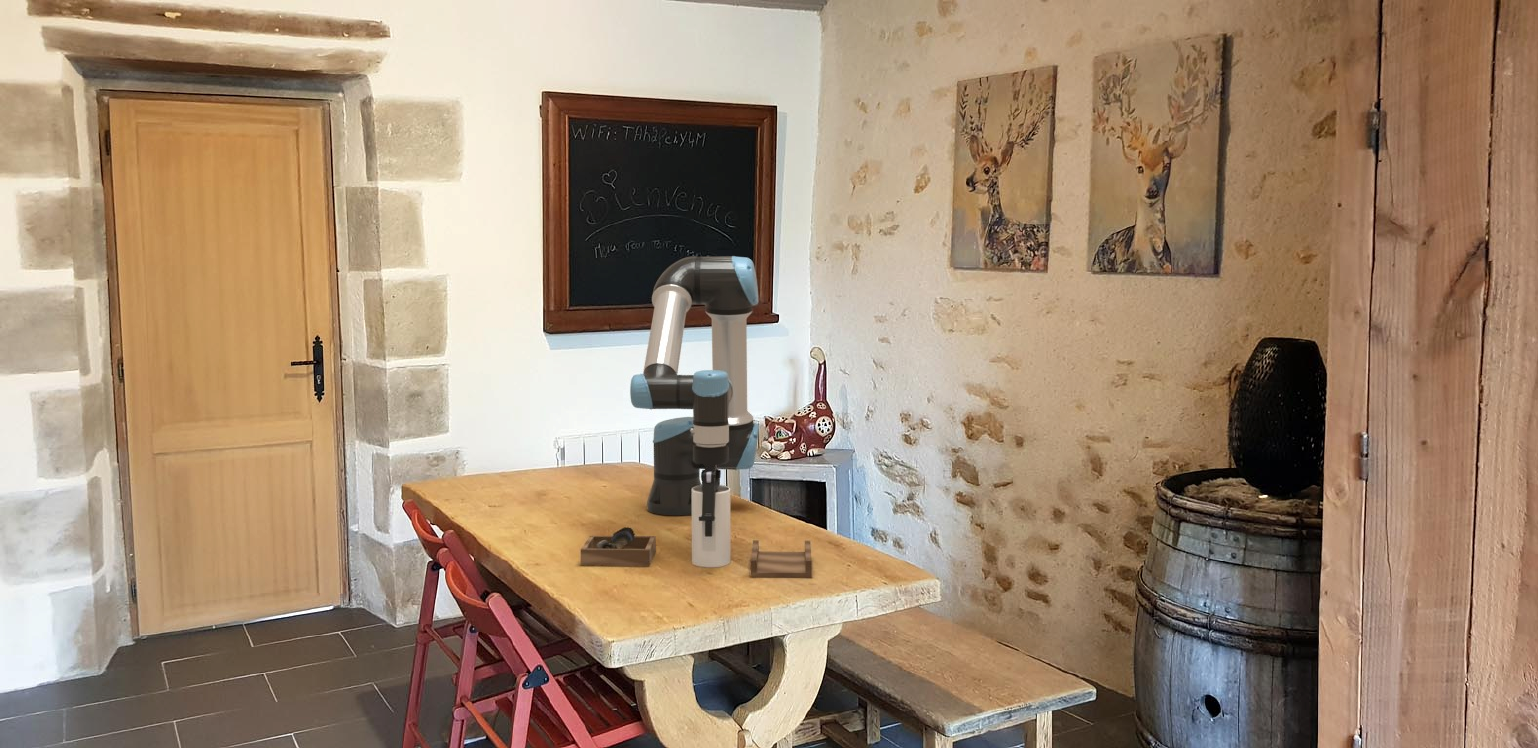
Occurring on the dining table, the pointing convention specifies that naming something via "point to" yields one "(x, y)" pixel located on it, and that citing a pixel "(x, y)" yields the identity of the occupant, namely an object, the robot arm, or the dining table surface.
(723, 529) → the cup
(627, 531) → the eagle figurine
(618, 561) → the figurine frame
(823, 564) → the dining table surface
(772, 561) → the brown wooden tray
